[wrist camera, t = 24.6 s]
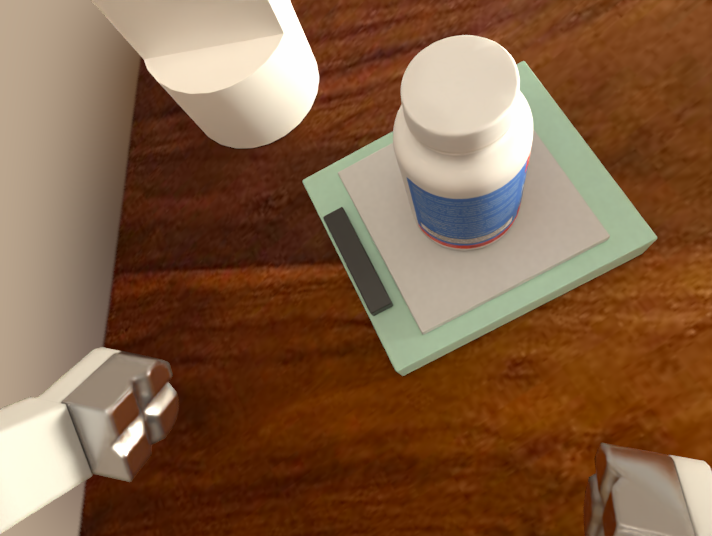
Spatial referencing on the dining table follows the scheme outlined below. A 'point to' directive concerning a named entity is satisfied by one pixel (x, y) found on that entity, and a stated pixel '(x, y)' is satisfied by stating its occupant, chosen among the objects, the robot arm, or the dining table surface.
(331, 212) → the scale
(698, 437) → the dining table surface
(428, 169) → the pill bottle
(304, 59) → the base with upright slab
